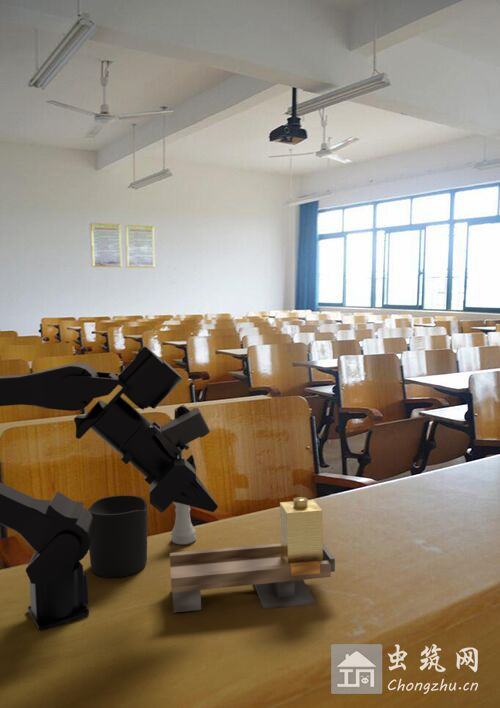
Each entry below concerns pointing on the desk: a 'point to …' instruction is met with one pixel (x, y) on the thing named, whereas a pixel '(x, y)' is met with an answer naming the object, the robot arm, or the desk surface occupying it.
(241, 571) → the balance beam
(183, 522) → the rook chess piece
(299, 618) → the desk surface
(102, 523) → the pen holder
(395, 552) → the desk surface
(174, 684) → the desk surface
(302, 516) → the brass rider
